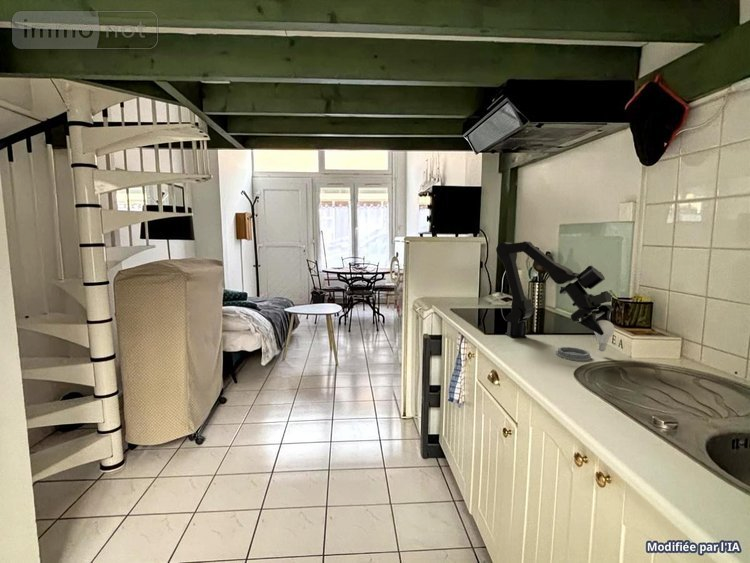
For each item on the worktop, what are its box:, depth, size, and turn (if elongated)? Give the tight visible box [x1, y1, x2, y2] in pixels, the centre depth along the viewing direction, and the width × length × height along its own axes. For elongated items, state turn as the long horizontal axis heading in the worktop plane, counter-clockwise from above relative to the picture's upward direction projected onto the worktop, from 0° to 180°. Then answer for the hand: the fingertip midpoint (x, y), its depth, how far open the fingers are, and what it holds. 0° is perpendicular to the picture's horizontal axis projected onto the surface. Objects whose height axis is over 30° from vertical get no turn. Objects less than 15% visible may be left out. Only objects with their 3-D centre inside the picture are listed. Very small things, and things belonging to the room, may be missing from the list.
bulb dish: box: [555, 346, 592, 362], centre depth 138 cm, size 11×11×2 cm
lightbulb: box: [593, 320, 615, 352], centre depth 138 cm, size 6×6×11 cm
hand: (607, 333), depth 137 cm, fingers closed on lightbulb, 6 cm apart
